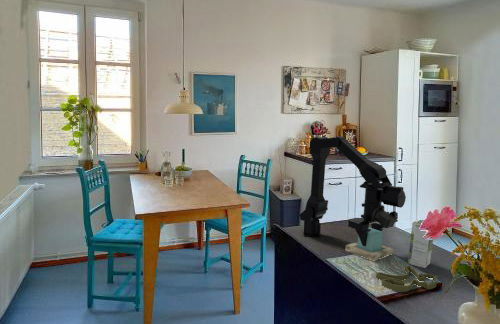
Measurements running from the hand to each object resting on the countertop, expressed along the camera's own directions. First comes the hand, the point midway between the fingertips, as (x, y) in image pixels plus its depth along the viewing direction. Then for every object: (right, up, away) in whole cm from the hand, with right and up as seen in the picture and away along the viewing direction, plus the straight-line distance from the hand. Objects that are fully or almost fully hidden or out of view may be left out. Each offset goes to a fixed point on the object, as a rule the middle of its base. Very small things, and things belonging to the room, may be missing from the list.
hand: (369, 244), depth 134 cm
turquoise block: (0, -2, 0) cm, 2 cm away
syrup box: (+14, -5, -8) cm, 17 cm away
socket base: (0, -3, 0) cm, 3 cm away
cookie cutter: (+4, -7, -22) cm, 24 cm away
